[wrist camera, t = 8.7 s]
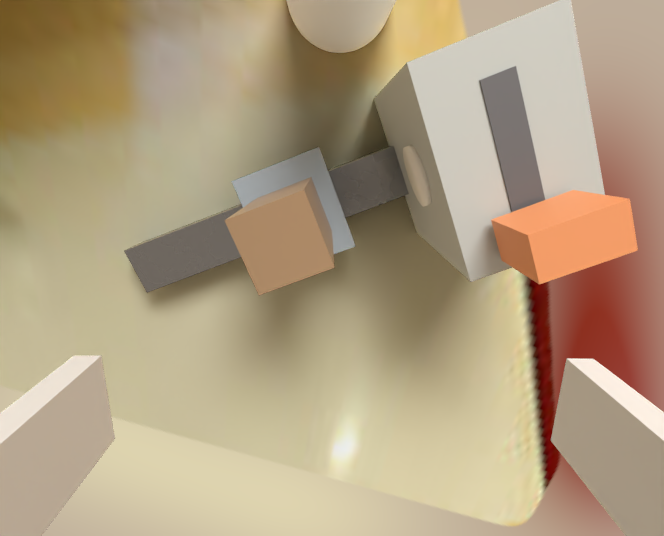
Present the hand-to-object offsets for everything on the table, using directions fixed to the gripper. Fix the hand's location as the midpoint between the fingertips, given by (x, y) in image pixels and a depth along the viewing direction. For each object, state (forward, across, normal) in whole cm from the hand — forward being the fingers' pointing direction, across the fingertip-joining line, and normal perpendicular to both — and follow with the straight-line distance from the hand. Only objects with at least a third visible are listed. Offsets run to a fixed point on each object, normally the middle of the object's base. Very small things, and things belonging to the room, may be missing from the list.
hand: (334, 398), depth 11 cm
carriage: (+24, -3, +2) cm, 24 cm away
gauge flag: (+11, +11, +3) cm, 16 cm away
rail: (+25, -6, +1) cm, 26 cm away
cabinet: (+25, +9, +7) cm, 28 cm away
